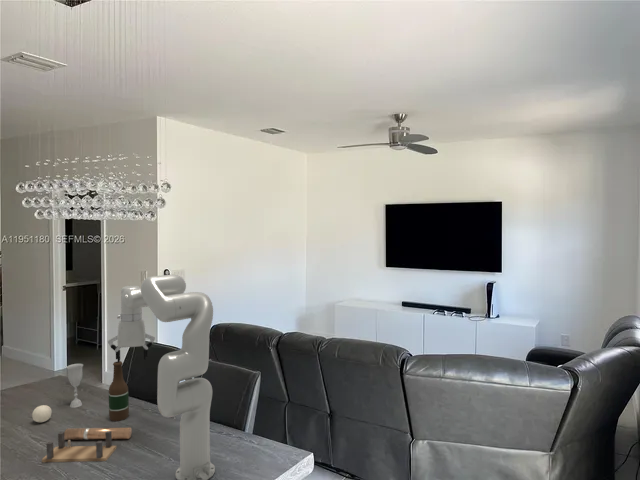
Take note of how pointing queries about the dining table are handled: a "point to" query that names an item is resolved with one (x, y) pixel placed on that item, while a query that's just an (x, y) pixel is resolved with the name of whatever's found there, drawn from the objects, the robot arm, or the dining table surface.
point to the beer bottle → (118, 395)
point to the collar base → (79, 451)
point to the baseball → (41, 413)
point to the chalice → (75, 381)
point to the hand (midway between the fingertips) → (132, 359)
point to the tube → (96, 433)
